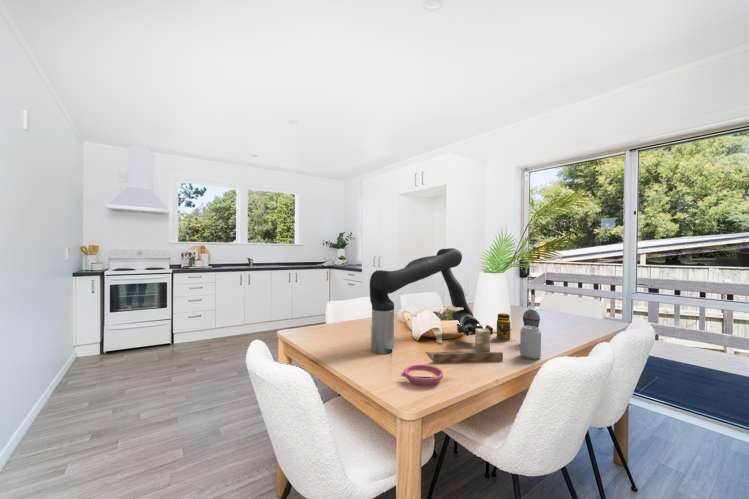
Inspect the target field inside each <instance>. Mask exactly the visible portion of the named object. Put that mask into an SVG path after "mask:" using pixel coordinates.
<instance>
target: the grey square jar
mask: <svg viewBox="0 0 749 499" xmlns="http://www.w3.org/2000/svg"><path fill="white" fill-rule="evenodd" d="M519 334H520V339H519V342H520V344H519V348H520V349H519V354H520V355H521V356H522V357H523V358H525V359H528V360H538V359H539V358H541V356H542V331H541V330H540V327H535V326H524V325H522V328H521V329H520V333H519Z"/></svg>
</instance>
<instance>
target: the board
mask: <svg viewBox="0 0 749 499" xmlns="http://www.w3.org/2000/svg"><path fill="white" fill-rule="evenodd" d="M425 354H426V355H427V356H428V358H429V359H430V360H431V361H432V362H433V363H434V364H445V363H447V364H449V363H451V364H452V363H454V364H455V363H479V362H483V363H486V362H501V363H504V362H503V361H504V356H503V354H504V352H502V351H490V352H475V350H466V351H464V350H463V351H430V352H429V351H427V352H425Z"/></svg>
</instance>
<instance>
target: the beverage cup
mask: <svg viewBox="0 0 749 499" xmlns="http://www.w3.org/2000/svg"><path fill="white" fill-rule="evenodd" d="M530 302H531V300H530V299H528V308H529V309H527V310H525V312H524V313H523V315H522V320H523V326H535V327H538V328H540V327H539V325H540V322H541V317H540V315H539V313H538V311H537V310H535V309H531V303H530Z"/></svg>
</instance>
